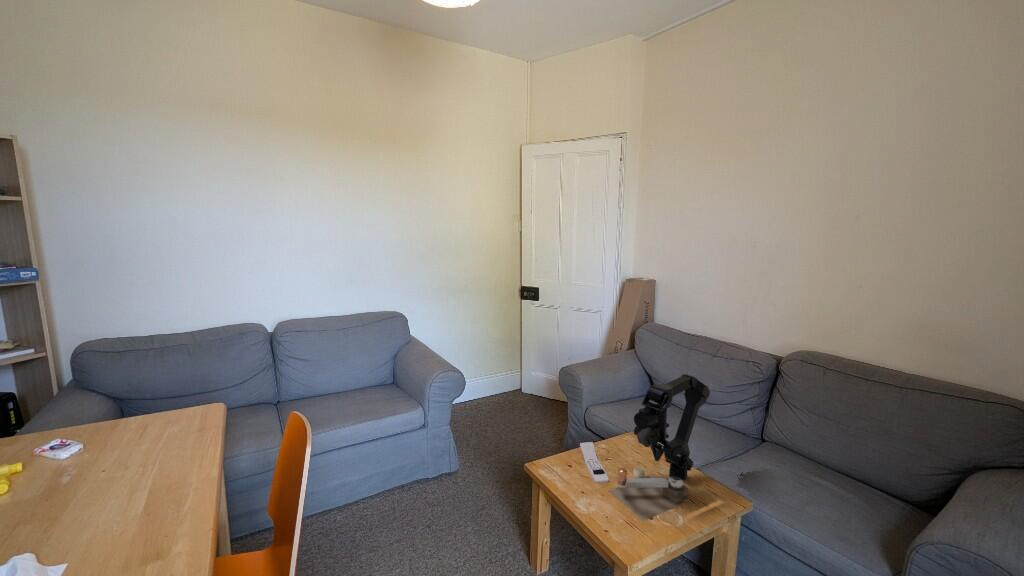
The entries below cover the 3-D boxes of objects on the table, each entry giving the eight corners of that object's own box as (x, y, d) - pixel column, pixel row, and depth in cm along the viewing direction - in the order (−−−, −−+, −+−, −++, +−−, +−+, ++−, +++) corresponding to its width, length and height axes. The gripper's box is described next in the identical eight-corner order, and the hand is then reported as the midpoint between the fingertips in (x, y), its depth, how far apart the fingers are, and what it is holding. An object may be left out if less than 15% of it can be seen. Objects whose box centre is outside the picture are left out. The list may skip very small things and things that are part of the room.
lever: (679, 480, 151) (680, 465, 150) (685, 489, 146) (685, 473, 145) (616, 481, 152) (616, 466, 151) (619, 489, 147) (619, 474, 146)
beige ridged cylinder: (638, 480, 159) (639, 465, 158) (646, 486, 155) (646, 471, 155) (630, 483, 157) (631, 468, 156) (638, 489, 154) (638, 474, 153)
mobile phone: (592, 441, 181) (611, 474, 156) (592, 454, 181) (611, 489, 157) (578, 442, 180) (596, 476, 155) (579, 455, 181) (596, 490, 156)
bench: (651, 477, 163) (652, 464, 162) (689, 503, 147) (690, 489, 147) (607, 494, 153) (608, 481, 152) (643, 525, 137) (644, 509, 137)
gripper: (623, 415, 154) (622, 454, 156) (662, 437, 137) (660, 480, 140) (645, 409, 159) (644, 447, 161) (685, 429, 142) (683, 471, 145)
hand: (657, 460), depth 152 cm, fingers closed
